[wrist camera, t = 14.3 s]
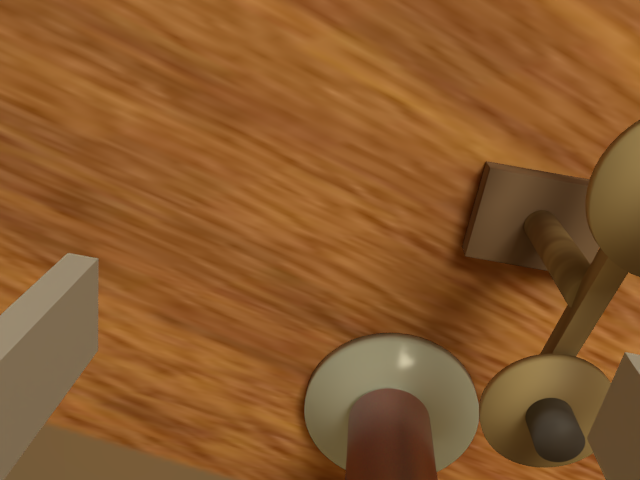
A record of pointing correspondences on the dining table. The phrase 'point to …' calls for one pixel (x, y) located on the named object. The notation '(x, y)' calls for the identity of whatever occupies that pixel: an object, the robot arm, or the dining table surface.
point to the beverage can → (389, 438)
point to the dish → (398, 372)
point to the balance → (574, 284)
